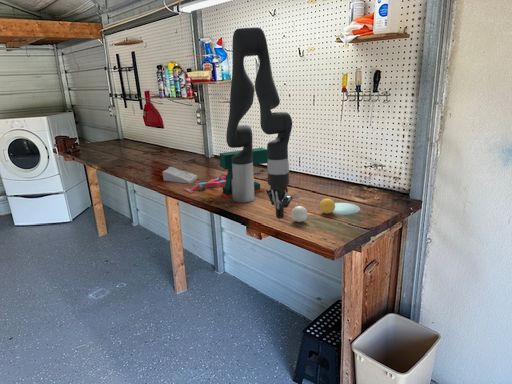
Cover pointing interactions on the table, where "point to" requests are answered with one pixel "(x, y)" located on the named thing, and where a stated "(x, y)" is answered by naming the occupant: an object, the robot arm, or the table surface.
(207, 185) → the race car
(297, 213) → the cue ball
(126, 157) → the table surface
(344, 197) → the table surface
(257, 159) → the power tool
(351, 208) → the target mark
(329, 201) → the object ball
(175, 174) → the ramp
